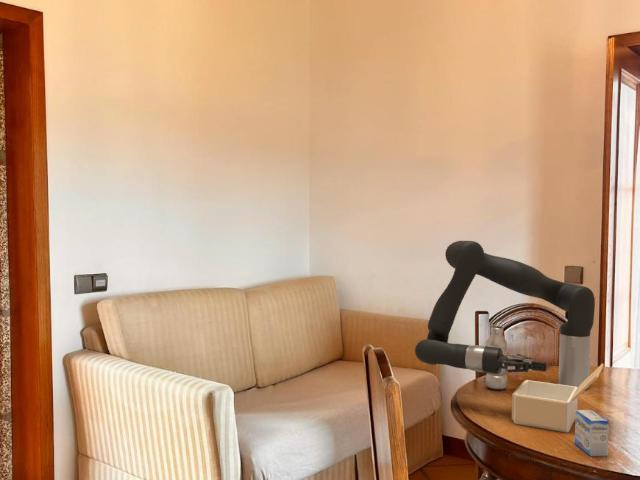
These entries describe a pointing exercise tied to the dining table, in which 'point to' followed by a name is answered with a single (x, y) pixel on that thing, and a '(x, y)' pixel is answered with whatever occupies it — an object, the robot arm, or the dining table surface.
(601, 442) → the medicine box
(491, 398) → the dining table surface
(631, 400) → the dining table surface
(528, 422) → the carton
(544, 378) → the dining table surface
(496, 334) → the plastic bottle
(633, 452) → the dining table surface
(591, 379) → the flap
